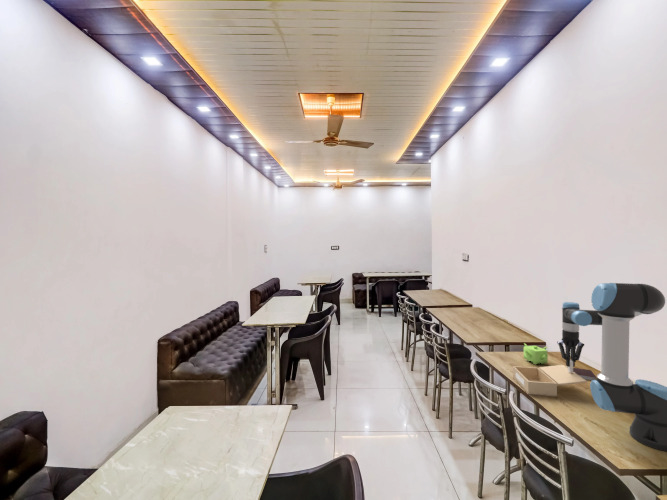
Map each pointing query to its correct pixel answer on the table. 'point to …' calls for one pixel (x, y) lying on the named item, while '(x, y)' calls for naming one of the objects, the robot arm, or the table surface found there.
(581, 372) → the book
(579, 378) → the lid
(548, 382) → the open box
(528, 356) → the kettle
